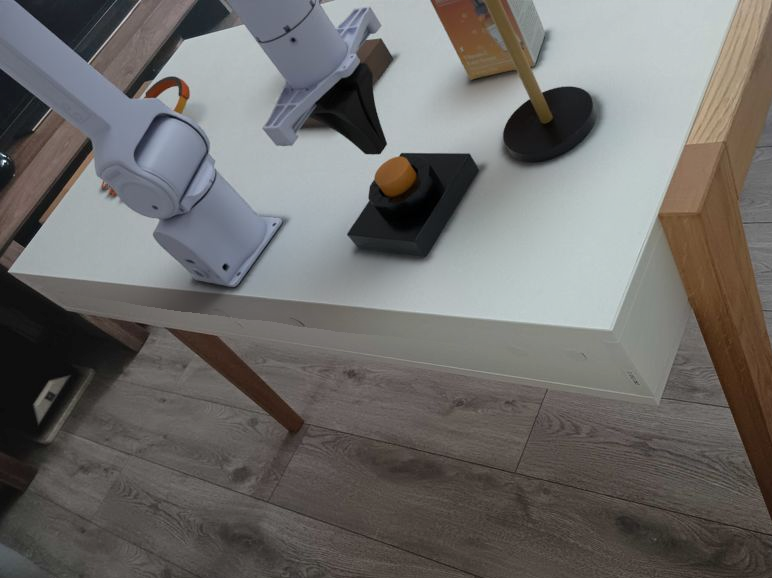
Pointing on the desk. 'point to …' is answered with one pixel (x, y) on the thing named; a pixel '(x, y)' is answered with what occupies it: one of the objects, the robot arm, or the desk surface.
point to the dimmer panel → (376, 60)
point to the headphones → (158, 89)
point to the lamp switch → (395, 176)
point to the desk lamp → (541, 107)
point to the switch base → (415, 205)
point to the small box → (489, 34)
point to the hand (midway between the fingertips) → (376, 148)
